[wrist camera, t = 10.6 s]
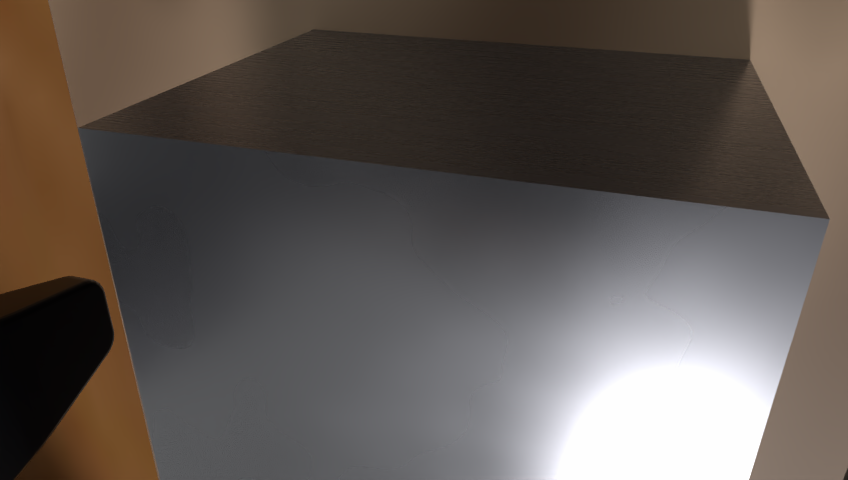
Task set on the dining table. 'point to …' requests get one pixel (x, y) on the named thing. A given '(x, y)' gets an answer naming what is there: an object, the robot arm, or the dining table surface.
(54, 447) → the dining table surface
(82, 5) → the tang plate
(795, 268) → the brushed metal cube
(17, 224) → the dining table surface
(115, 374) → the dining table surface
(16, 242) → the dining table surface
